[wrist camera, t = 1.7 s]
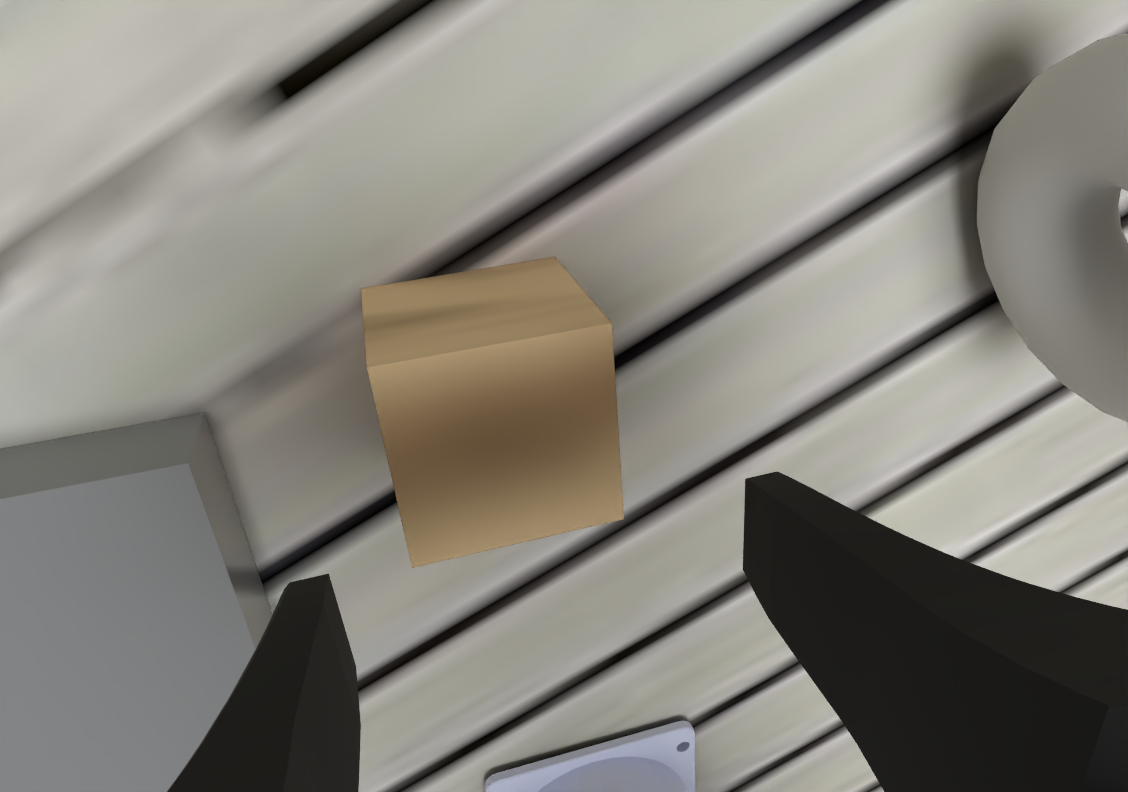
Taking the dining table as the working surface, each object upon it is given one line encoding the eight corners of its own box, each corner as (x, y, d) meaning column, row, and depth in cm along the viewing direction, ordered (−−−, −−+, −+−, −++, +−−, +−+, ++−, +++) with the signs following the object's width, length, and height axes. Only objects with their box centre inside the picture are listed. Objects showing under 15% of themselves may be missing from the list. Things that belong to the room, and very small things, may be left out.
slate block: (312, 720, 26) (310, 801, 23) (-95, 825, 24) (-147, 927, 21) (207, 404, 20) (188, 463, 18) (-341, 501, 18) (-455, 586, 15)
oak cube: (569, 421, 23) (623, 518, 18) (398, 456, 22) (412, 567, 17) (554, 255, 20) (611, 323, 16) (360, 287, 19) (366, 367, 15)
